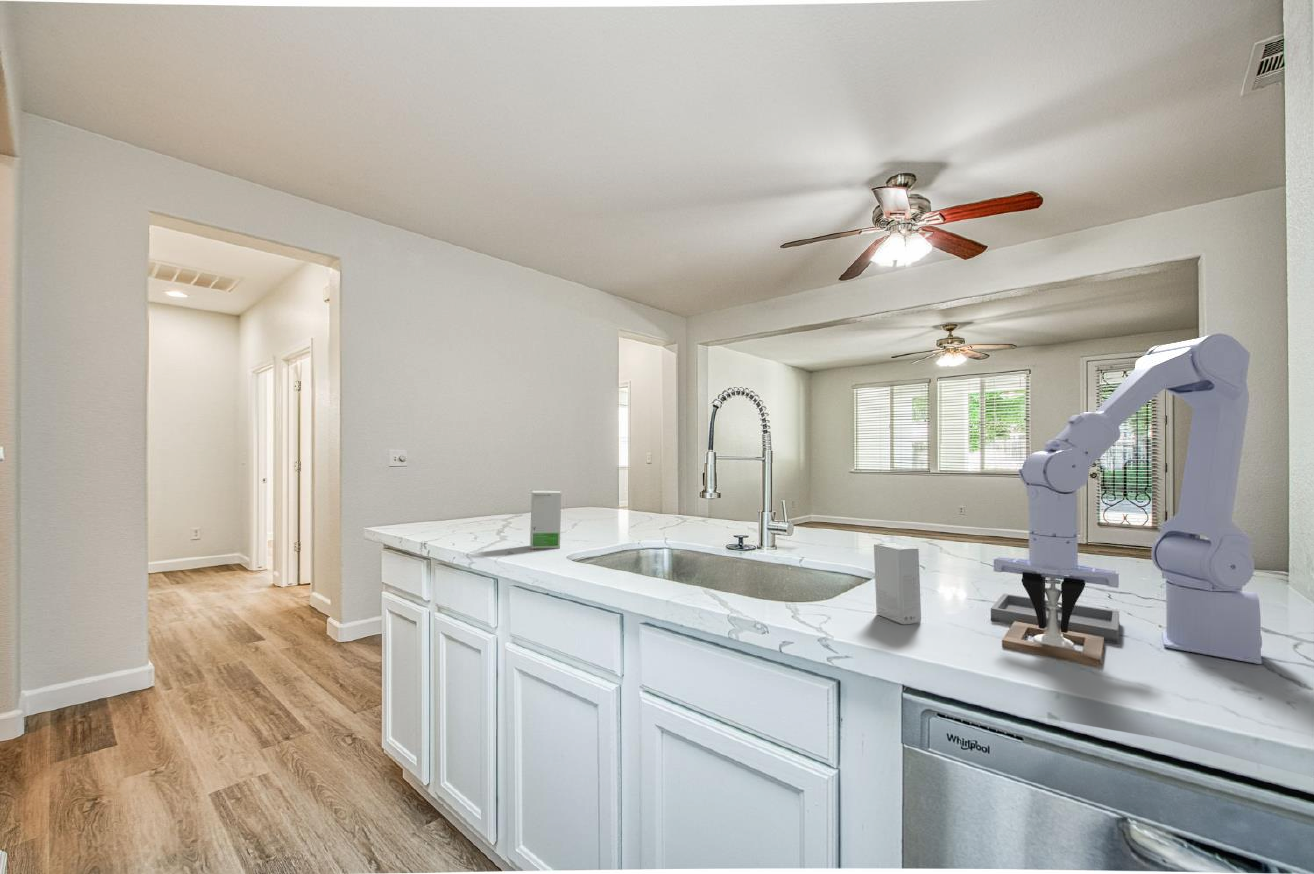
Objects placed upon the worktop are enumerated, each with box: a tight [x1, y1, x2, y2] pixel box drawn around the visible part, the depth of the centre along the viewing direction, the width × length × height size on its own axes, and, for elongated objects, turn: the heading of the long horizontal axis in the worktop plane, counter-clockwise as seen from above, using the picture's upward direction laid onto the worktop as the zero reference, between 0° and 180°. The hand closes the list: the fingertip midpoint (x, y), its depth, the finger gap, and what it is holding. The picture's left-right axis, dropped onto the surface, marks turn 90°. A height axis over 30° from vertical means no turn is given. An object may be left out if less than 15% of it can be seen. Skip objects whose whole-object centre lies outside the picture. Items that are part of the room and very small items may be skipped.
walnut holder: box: [1001, 621, 1105, 668], centre depth 79 cm, size 11×11×1 cm
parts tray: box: [990, 593, 1120, 645], centre depth 90 cm, size 16×12×2 cm
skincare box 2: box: [873, 542, 922, 625], centre depth 92 cm, size 6×4×12 cm
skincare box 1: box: [529, 490, 562, 550], centre depth 155 cm, size 8×7×16 cm
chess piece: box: [1032, 578, 1076, 650], centre depth 79 cm, size 5×5×10 cm
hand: (1053, 628), depth 79 cm, fingers closed on chess piece
